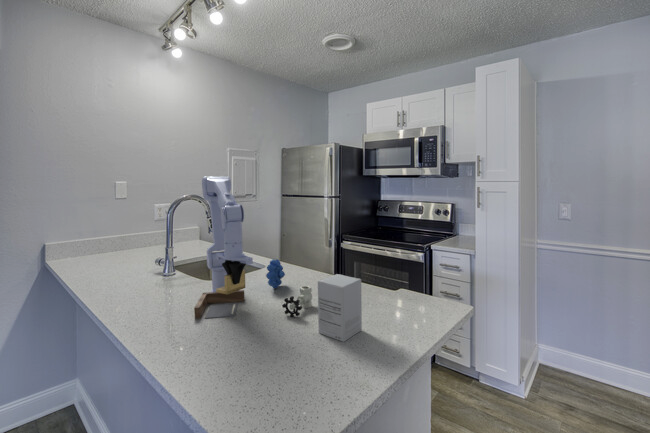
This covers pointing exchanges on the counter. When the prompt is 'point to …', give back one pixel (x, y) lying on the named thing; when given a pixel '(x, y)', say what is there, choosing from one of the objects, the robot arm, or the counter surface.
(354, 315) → the supplement box
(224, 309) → the mat
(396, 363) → the counter surface
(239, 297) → the corner walls
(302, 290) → the valve
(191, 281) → the counter surface
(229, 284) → the bronze bracket
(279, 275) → the grapes
